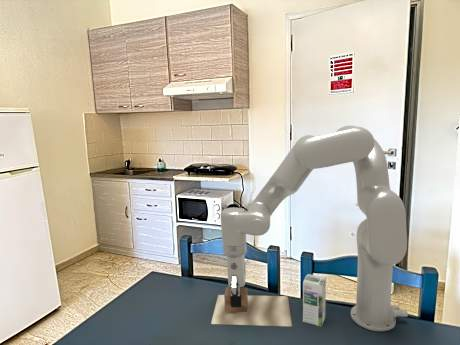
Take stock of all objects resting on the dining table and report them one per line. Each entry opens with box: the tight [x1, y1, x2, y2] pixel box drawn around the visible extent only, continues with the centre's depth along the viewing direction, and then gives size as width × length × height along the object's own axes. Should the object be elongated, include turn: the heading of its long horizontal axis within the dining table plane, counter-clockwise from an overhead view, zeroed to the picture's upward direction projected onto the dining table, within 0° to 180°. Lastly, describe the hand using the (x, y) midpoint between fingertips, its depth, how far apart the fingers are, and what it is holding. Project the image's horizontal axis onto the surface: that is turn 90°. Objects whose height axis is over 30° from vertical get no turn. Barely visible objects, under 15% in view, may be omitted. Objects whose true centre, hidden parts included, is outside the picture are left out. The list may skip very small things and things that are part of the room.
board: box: [210, 294, 293, 327], centre depth 103 cm, size 24×16×2 cm, turn 84°
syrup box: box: [302, 273, 327, 328], centre depth 96 cm, size 6×6×14 cm
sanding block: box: [223, 286, 249, 314], centre depth 103 cm, size 7×5×6 cm
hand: (237, 297), depth 103 cm, fingers open, 9 cm apart
